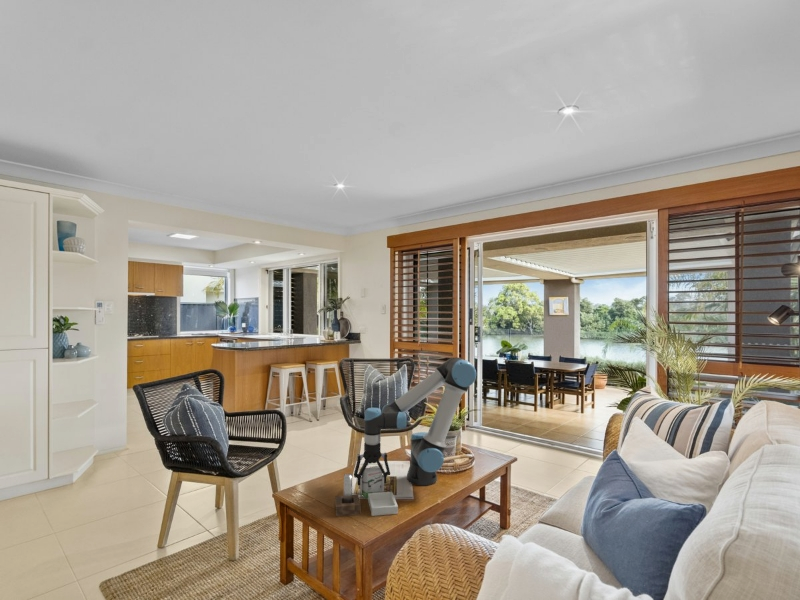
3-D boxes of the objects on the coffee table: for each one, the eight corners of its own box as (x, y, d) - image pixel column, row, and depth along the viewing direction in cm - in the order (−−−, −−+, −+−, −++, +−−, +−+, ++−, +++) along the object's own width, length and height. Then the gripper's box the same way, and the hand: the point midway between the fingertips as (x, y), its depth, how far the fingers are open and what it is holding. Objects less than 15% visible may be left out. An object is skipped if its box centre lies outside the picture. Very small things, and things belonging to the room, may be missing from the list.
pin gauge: (351, 506, 182) (351, 473, 183) (352, 510, 179) (352, 476, 179) (343, 506, 182) (343, 474, 182) (343, 510, 178) (344, 477, 178)
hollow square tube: (358, 503, 186) (358, 494, 186) (360, 514, 176) (360, 504, 176) (335, 505, 184) (335, 496, 184) (336, 516, 174) (336, 506, 174)
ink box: (366, 499, 190) (366, 472, 190) (361, 494, 195) (361, 469, 195) (382, 494, 195) (382, 468, 195) (377, 490, 199) (377, 465, 199)
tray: (392, 498, 191) (392, 491, 191) (397, 513, 177) (398, 506, 177) (367, 500, 189) (367, 493, 189) (371, 515, 175) (371, 508, 175)
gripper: (394, 438, 201) (393, 485, 201) (347, 441, 197) (347, 489, 196) (397, 443, 194) (396, 492, 193) (349, 446, 189) (348, 496, 189)
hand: (371, 491), depth 195 cm, fingers closed on ink box, 9 cm apart
